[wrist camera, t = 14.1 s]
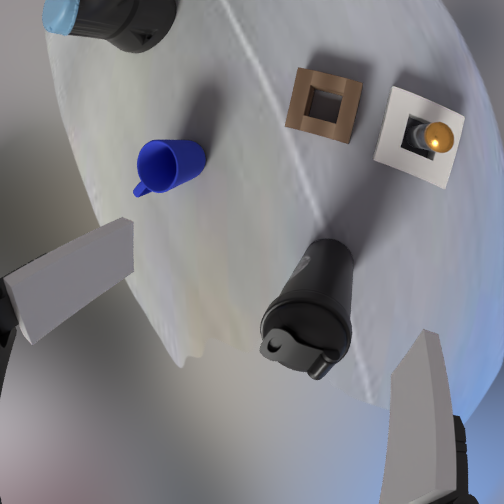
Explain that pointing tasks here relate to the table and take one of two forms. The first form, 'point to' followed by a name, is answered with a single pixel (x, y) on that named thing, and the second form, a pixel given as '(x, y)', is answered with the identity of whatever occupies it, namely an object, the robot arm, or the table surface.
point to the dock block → (394, 128)
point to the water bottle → (312, 312)
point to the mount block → (303, 100)
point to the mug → (168, 165)
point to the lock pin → (431, 137)
